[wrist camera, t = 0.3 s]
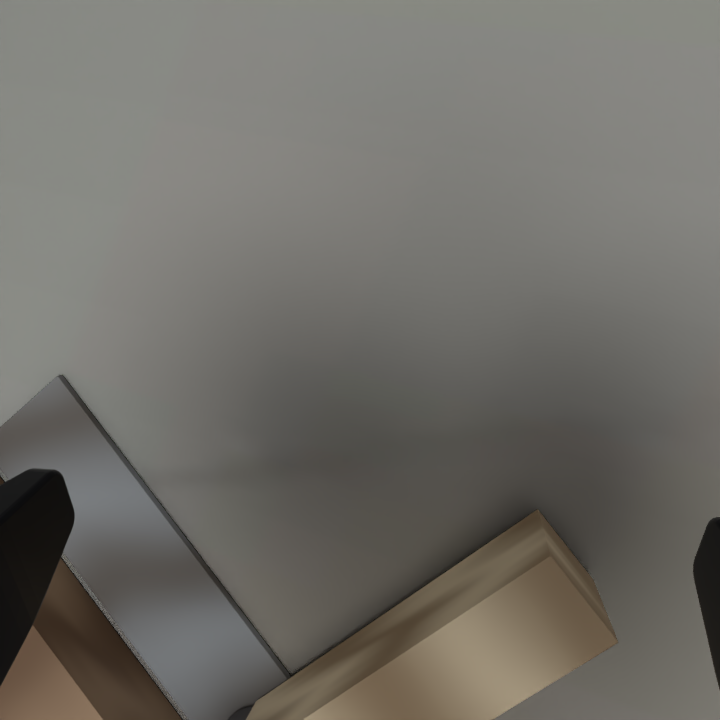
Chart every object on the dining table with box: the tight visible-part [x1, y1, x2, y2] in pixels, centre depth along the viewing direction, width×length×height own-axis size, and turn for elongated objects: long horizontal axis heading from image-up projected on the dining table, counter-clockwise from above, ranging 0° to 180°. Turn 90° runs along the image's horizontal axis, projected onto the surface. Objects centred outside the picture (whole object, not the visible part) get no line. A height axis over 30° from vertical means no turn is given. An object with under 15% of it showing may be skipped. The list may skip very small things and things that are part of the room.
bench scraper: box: [0, 375, 291, 720], centre depth 24 cm, size 18×9×3 cm, turn 39°
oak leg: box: [228, 509, 618, 720], centre depth 21 cm, size 16×3×4 cm, turn 129°
